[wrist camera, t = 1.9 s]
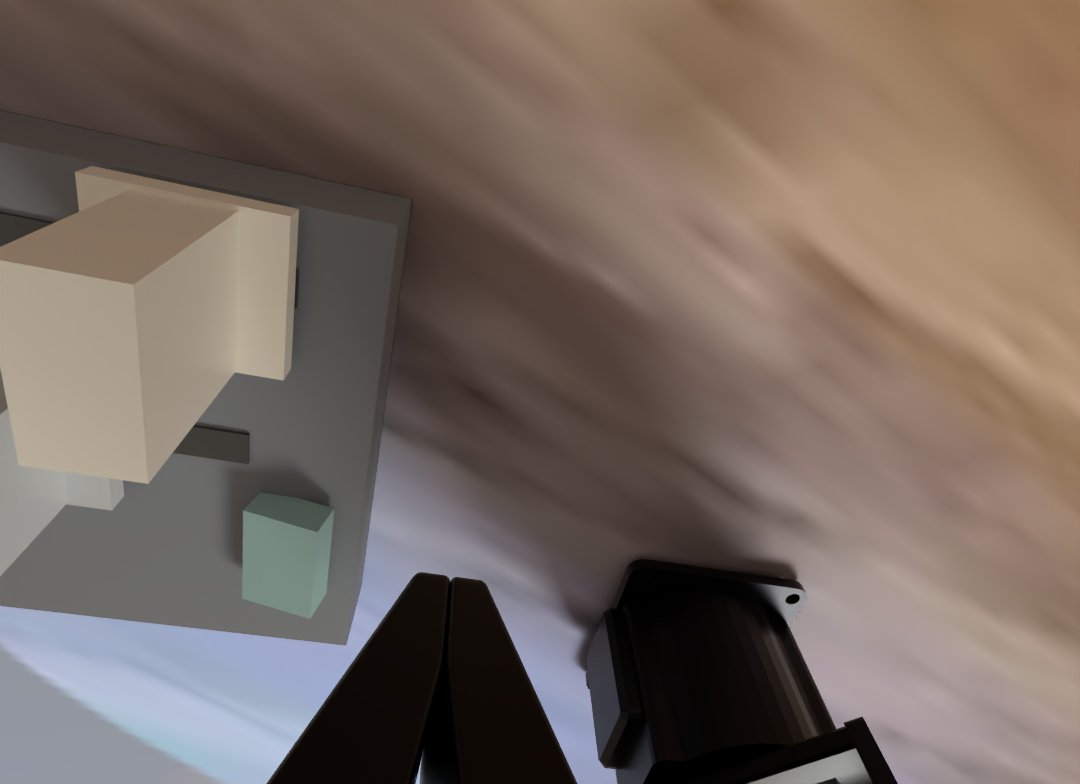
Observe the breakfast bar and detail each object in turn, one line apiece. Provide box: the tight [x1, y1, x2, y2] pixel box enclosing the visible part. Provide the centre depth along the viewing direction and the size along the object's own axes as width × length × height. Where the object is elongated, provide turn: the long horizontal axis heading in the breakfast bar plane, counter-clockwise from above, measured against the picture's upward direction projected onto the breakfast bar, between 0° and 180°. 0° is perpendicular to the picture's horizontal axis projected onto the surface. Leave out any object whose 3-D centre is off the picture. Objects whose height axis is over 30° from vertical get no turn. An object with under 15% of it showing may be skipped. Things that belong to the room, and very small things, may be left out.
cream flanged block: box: [0, 166, 299, 484], centre depth 12 cm, size 4×4×5 cm
